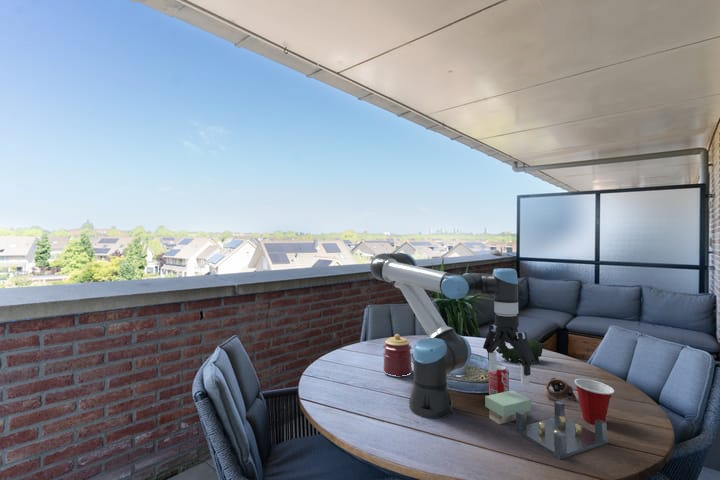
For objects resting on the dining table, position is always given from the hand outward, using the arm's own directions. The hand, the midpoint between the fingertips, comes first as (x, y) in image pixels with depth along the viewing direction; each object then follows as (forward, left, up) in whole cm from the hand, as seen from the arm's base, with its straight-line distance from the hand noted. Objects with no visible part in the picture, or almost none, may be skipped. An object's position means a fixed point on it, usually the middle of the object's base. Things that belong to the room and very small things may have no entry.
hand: (508, 377), depth 113 cm
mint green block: (0, 0, -10) cm, 10 cm away
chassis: (+5, -15, -13) cm, 20 cm away
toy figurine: (+51, +40, -14) cm, 66 cm away
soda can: (+8, +12, -14) cm, 20 cm away
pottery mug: (+29, +4, -14) cm, 33 cm away
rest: (0, 0, -13) cm, 13 cm away
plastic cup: (+24, -13, -14) cm, 30 cm away
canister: (-14, +51, -14) cm, 55 cm away
